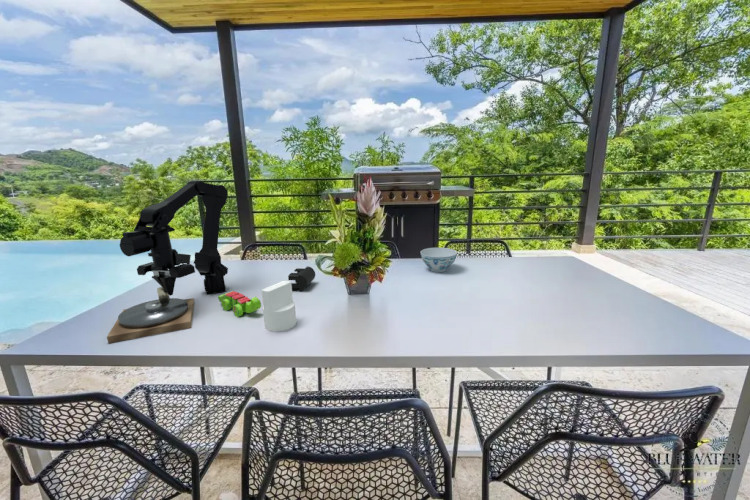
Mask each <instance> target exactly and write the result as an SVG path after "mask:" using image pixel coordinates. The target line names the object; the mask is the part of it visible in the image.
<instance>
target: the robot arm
mask: <svg viewBox="0 0 750 500" xmlns="http://www.w3.org/2000/svg"><path fill="white" fill-rule="evenodd" d="M228 194H229V192H228V190H227V188H226V187H225V186H224V185H222V184H212V183H208V182H204V181H201V180H189V181H188V182H186V184H185V185H183V186H182V187H181V188H179V189H178V190H177V191H176V192H174V193H172V194H171V195H170V196H168V197H167V198H166V199H164V200H163V201H160V202H158V203H157V202H156V203H154V204H151V205H149V206H147V207H145V208H143V209H142V210H140V212H139V213H140V214H139V215H140V216H139V219H138V220H137V223H136V225H135V227H134V230H133V231H126V232H122V237H121V239H120V240H119V241H120V242H119V248H120V250H121V252H122V253H123V254H124V256H126V257H132V256H137V255H140V254H144V253H147V255H148V257H150V258H152V259H151V260H152V261H150V262H147V263H144V264H141V265H138V266H137V268H136V271H137V275H138V276H145V275H147V273H150V272H152V274H153V275H152V276H151V279H154V281H155V282H156V283H157V284H159V285H160V287H162V288H163V289H164V290H165V291H166V292H167V293H168V294H169V297H170V296H173V295H174V290H175V285H176V279H179V278H180V279H182V278H184V277H186V276H190V275H191V274H194V273H196V271H197V272H198V274H199V276H201V277H202V276H204V278H203V286H204V291H205V292H206V295H210V294H211V295H212V294H217V293H223V292H227V288H226V283H225V276H226V275H228V271H229V268H228V267H227V266H226V265H224V264H223V263H222V257H221V254H220V252H219V250H218V243H219V235H220V233H219V232H220V223H221V213H222V209H223V208H224V207H225V205H226V204H227V199H228ZM196 196H200V197H201V200H202V203H203V205H204V207H205V215H204V225H203V226H204V227H203V235H202V237H203V238H202V245H201V246H202V247H201V249H200V250H199V252H197V251H196V252H194V259H193V260H194V261H193V264H194V265H193V264H191V256H192V255H191V254H186V253H179V251H177V250H176V248H172V247H173V246H172V243H171V236H170V233H171V232H175V230H176V229H175V228H173V227H172V226H171V225H169V224H170V223H171V222H172V221H173V219H174V218H175V214H176V213H177V212H178V211H179V210H180V209H182V208H183V207H184V206H185V205H187V204H188V203H189V202H190V201H192V200H193V199H194V198H196Z"/></svg>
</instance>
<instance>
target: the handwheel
mask: <svg viewBox="0 0 750 500" xmlns="http://www.w3.org/2000/svg"><path fill="white" fill-rule="evenodd" d="M156 292H157V296H158V299H154V300H149V301H145V302H141V303H139V304H136V305H132V306H130V307H128V308H125V309H126V310H125V311H123V310H122V311H123V312H122V311H121V313H119V315H118V317H117V319H118V321H119V324H120V325H121V326H123V327H126V328H143V327H150V326H155V325H159V324H163V323H166V322H169V321H171V320H174V319H176V318H178V317H180V316H182V315H183V314H184V313H186V312H187V310H188V303H187V301H186V300H184V299H183V298H179V297H178V298H175V297H172V298H171V297H170V295H169V294H168V293H167V292H166V291H165V290H164V289H163V288H162V287H161V286H159V287H157V289H156Z"/></svg>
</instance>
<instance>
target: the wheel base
mask: <svg viewBox="0 0 750 500" xmlns="http://www.w3.org/2000/svg"><path fill="white" fill-rule="evenodd" d="M183 300H186V301H187V303H188V310H187V312H186V313H184V314H183V315H182V316H180V317H178V318H176V319H174V320H171V321H169V322H166V323H163V324H159V325H155V326H150V327H143V328H126V327H123V326H121V325H120V324H119V321H118V318H117V319H116V321H115V323H114V324H113V326H112V327H111V329H110V331H109V332H108V334H107V336H106V339H107V344H109V345H110V344H114V343H119V342H124V341H129V340H133V339H135V340H136V339H139V338H144V337H146V338H147V337H150V336H156V335H161V334H166V333H171V332H176V331H181V330H186V329H190V328H192V325H193V318H194V310H195V299H194V297H191V298H185V299H183ZM126 309H127V308H124V309H122V311H121V313H122V312H123V311H125V310H126Z"/></svg>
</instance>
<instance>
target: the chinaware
mask: <svg viewBox="0 0 750 500" xmlns="http://www.w3.org/2000/svg"><path fill="white" fill-rule="evenodd" d="M457 255H458V251H456V250H455V249H452V248H447V247H427V248H424V249H422V250H420V256H421V260H422V261H423V263H424V264H425V265H426V267H428V268H430V271H431V272H435V273H444V272H446V271H447V269H448V268H450V267H451V266H452V265H453V264H454V263H455V261H456V260H457Z"/></svg>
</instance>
